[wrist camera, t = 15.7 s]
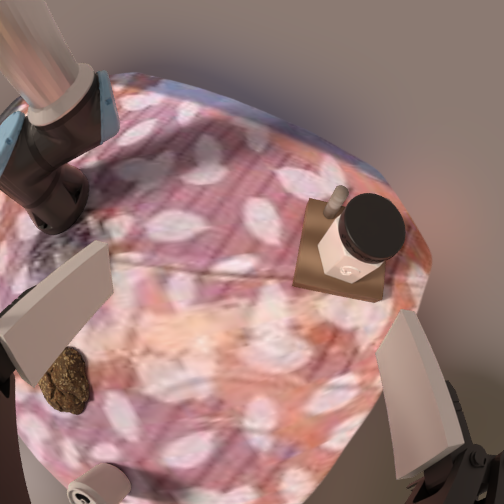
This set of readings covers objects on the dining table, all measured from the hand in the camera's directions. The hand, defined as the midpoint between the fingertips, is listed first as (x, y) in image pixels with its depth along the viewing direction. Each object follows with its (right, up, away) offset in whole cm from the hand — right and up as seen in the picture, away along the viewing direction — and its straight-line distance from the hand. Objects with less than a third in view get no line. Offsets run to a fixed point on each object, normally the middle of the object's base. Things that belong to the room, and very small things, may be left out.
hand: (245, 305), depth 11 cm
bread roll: (-33, -21, +25) cm, 46 cm away
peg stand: (+15, +2, +32) cm, 35 cm away
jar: (+14, +2, +29) cm, 32 cm away
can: (-24, -38, +19) cm, 49 cm away
